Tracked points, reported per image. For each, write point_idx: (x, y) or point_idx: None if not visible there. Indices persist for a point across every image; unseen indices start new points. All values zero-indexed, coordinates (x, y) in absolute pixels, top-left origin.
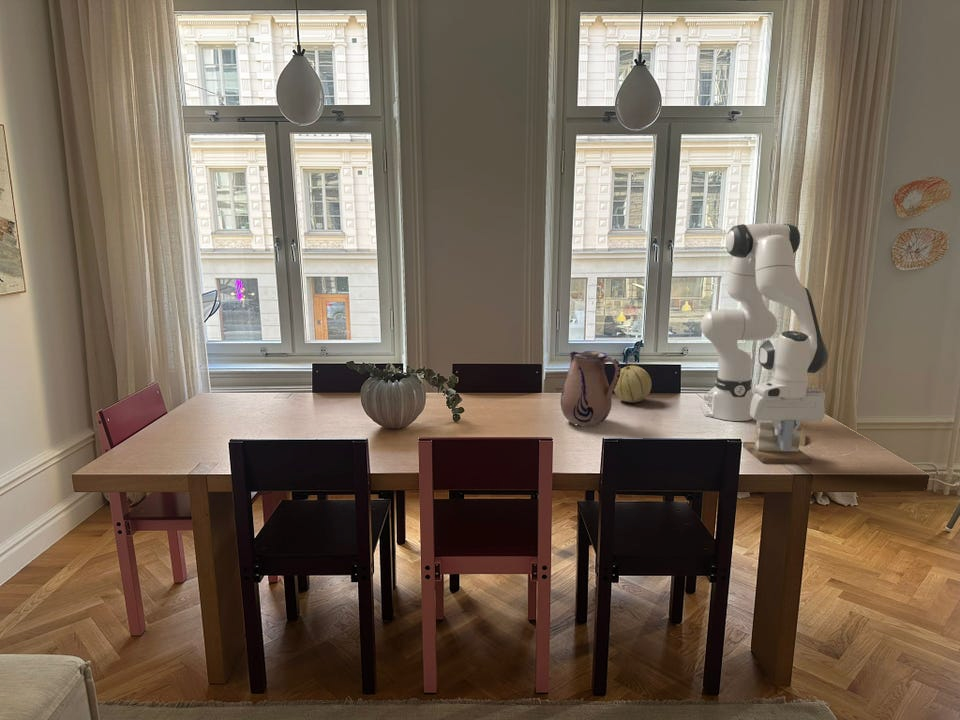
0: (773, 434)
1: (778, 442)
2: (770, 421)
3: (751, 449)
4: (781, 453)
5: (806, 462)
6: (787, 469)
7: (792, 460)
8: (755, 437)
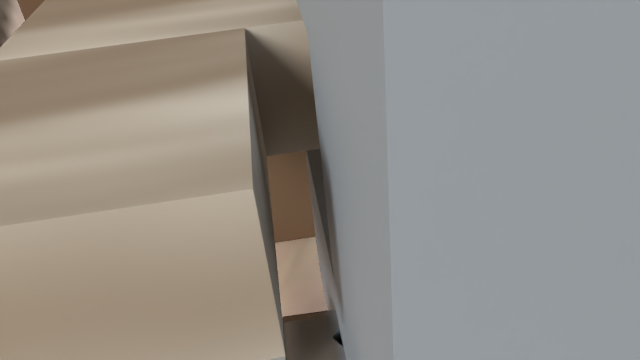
0: None
1: (315, 209)
2: (212, 309)
3: (22, 4)
4: None
5: None
6: (297, 310)
7: None
8: (8, 46)
